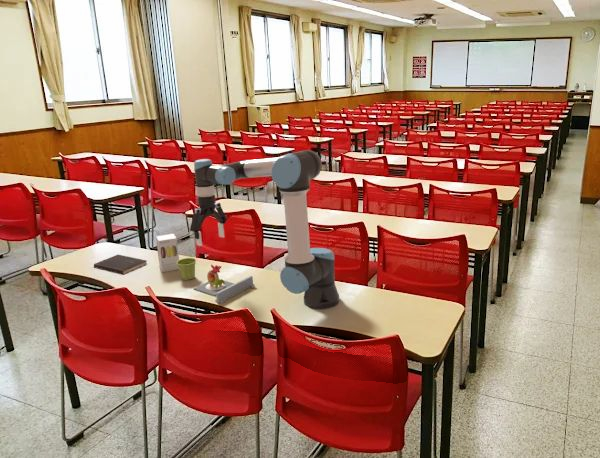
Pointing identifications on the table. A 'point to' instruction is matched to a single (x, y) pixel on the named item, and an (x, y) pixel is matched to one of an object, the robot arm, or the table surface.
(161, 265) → the supplement box
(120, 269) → the hardcover book
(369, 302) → the table surface
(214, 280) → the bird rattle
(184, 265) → the plant pot
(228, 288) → the long grey bar
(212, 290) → the mat
